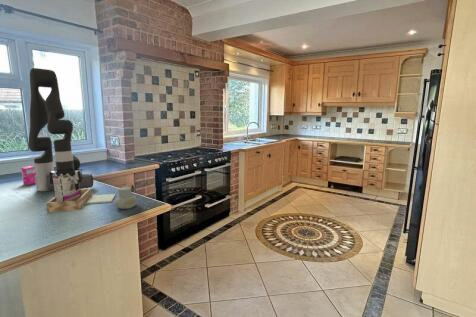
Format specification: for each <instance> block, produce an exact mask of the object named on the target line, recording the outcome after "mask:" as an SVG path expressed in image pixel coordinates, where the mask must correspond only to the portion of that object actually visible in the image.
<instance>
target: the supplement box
mask: <svg viewBox="0 0 476 317" xmlns="http://www.w3.org/2000/svg"><path fill="white" fill-rule="evenodd" d="M20 171H21V178H22V183H23V185H26V186H34V185H36V183H35V175H36V170H35V166H31V165H29V166H23V167H20Z"/></svg>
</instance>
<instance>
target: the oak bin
mask: <svg viewBox="0 0 476 317" xmlns="http://www.w3.org/2000/svg"><path fill="white" fill-rule="evenodd" d="M80 193H81V197H80V198H79V199H78V200H77V201H64V202H56V196H54V197H52V198H51V199H50V200H48V201H47V202H46V203H45V204H46V205H45V206H46V212H47V213H53V212H54V213H55V212H66V211H67V212H69V211H79V210H81V208H83V206H84V205H85V204H87V201H88V200H89V199H90V198H91V197H92V196H93V193H92V187H91V188H84V189H80Z"/></svg>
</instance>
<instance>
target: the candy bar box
mask: <svg viewBox="0 0 476 317" xmlns="http://www.w3.org/2000/svg"><path fill="white" fill-rule="evenodd" d="M55 176H56V177H53V183H54V190H53V191H54V195H55V196H56V202H64V201H77V200H78V199H79V198H80V197H81V193H80V188H79V190H78V191H76V188H75V184H76V183H75V182H74V181H72V180H71V179H70V178H69V177H68V176H67V175H63V176H57V175H55ZM74 176H75V177H76V178H77V179H78V180H79V178H78V175H77V174H76V173H75V174H74ZM74 176H73V178H74ZM79 186H80V185H79ZM55 196H54V197H55Z"/></svg>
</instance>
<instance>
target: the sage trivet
mask: <svg viewBox="0 0 476 317" xmlns="http://www.w3.org/2000/svg"><path fill="white" fill-rule="evenodd" d="M115 195H116V193H109V194H95V195H93V194H92V196H91V197H90V199H89V200H88V201H87V202H86V205H91V204H92V205H93V204H103V203H104V204H107V203H112V202H113V200H115V197H116V196H115Z"/></svg>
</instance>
